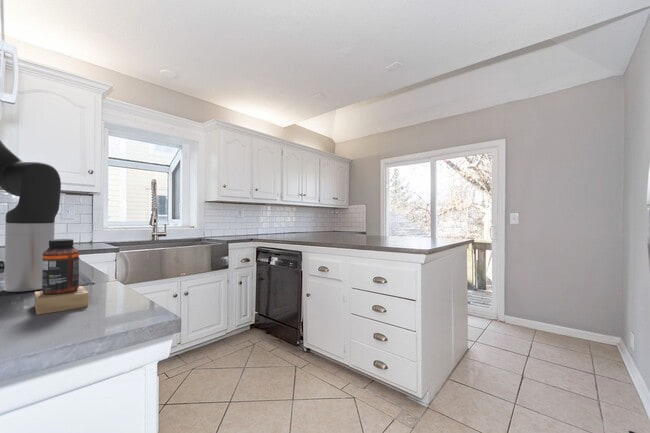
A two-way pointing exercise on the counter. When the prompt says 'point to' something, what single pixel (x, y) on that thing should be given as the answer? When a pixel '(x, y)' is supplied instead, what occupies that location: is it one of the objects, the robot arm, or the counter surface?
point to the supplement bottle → (60, 267)
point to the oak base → (60, 301)
